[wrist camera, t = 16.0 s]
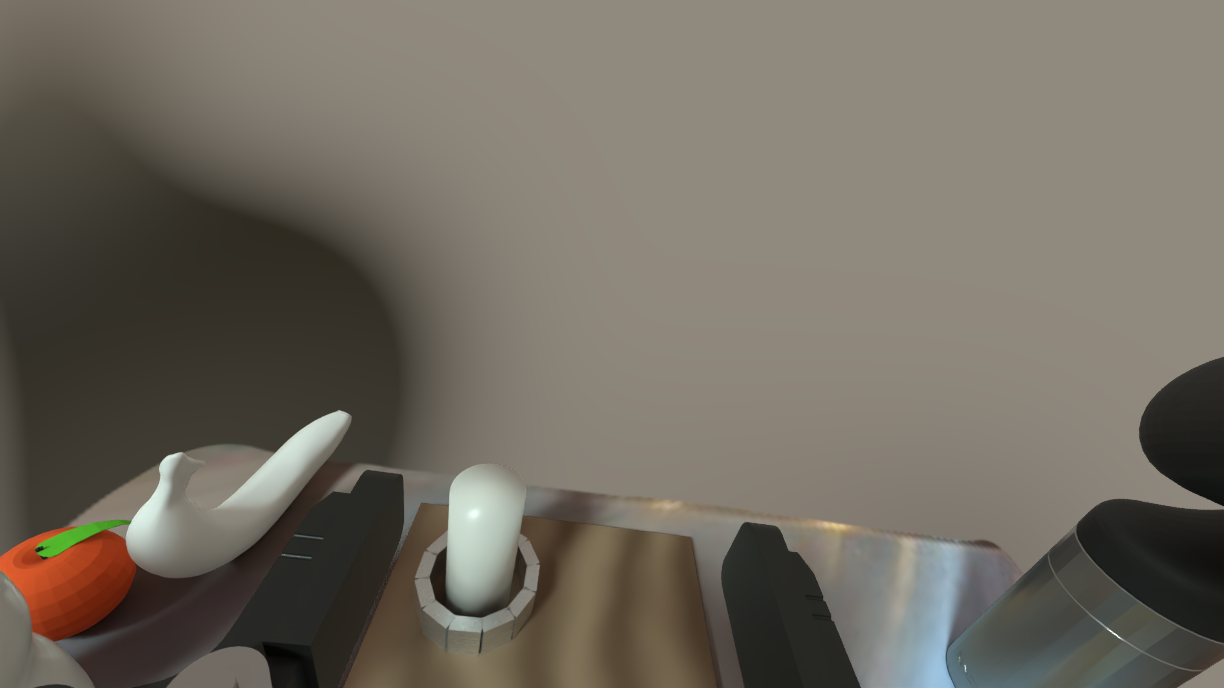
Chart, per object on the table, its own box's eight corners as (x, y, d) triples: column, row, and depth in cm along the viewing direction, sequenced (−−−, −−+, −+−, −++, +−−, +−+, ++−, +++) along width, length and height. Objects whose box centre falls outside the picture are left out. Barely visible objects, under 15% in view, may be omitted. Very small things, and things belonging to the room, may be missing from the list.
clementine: (135, 540, 37) (106, 477, 34) (187, 588, 35) (161, 526, 32) (-20, 626, 31) (-76, 559, 27) (31, 692, 29) (-23, 627, 25)
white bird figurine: (357, 450, 50) (347, 330, 42) (210, 636, 33) (151, 492, 26) (311, 440, 49) (292, 318, 42) (139, 623, 33) (60, 474, 26)
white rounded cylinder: (514, 569, 40) (531, 468, 34) (503, 630, 36) (520, 526, 30) (454, 562, 40) (461, 458, 34) (436, 623, 35) (439, 516, 29)
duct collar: (540, 550, 42) (544, 528, 41) (525, 659, 34) (530, 637, 33) (437, 538, 41) (438, 515, 40) (398, 648, 33) (397, 624, 32)
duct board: (686, 546, 48) (690, 537, 47) (718, 743, 34) (725, 733, 33) (421, 513, 45) (421, 502, 44) (338, 713, 31) (336, 702, 30)
